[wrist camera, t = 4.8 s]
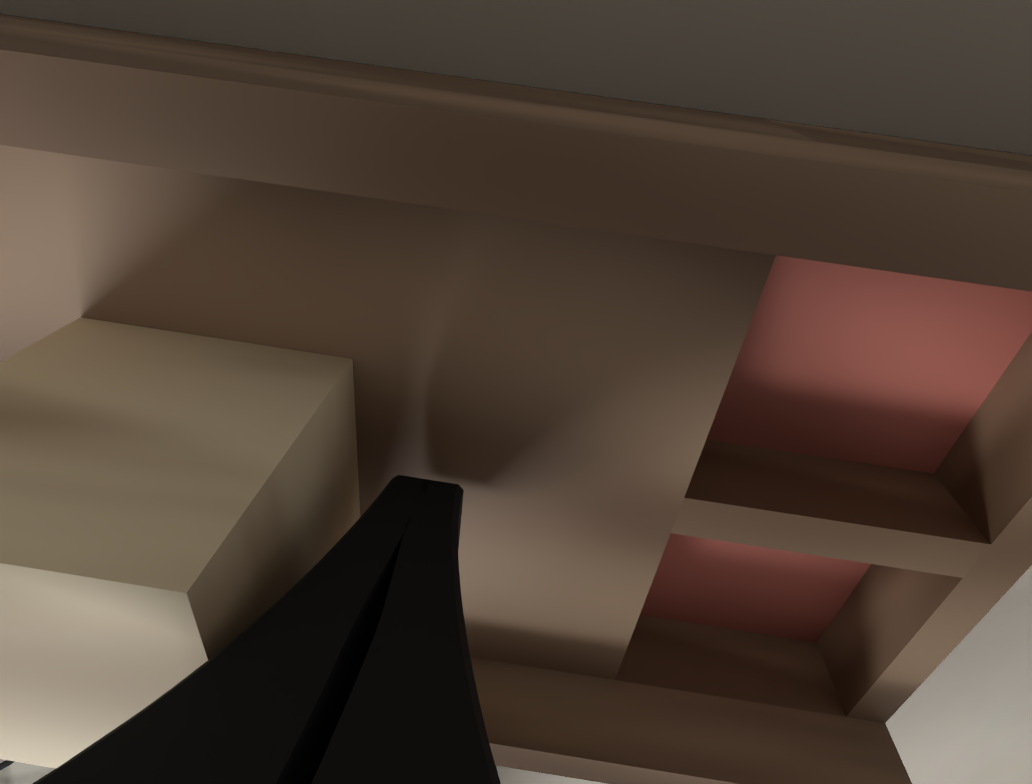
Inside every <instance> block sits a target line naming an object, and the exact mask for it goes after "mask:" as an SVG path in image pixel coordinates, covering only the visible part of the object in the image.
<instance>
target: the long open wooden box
mask: <svg viewBox="0 0 1032 784" xmlns="http://www.w3.org/2000/svg"><path fill="white" fill-rule="evenodd" d="M80 317H81V318H88V319H94V320H101V321H108V322H114V323H121V324H127V325H134V326H140V327H147V328H153V329H160V330H166V331H173V332H180V333H186V334H193V335H199V336H206V337H212V338H219V339H225V340H232V341H239V342H245V343H252V344H258V345H265V346H271V347H278V348H284V349H291V350H297V351H304V352H311V353H317V354H324V355H330V356H337V357H343V358H350V359H353V378H354V398H355V419H356V439H357V460H358V480H359V500H360V517H361V516H362V515H363V514H364V512H365V511H366V510H367V509H368V508H369V507H370V505H371V504H372V503H373V502H374V501H375V499H376V498H377V497H378V496H379V494H380V493H381V492H382V491H383V490H384V488H385V487H386V486H387V484H388V483H389V482H390V481H391V479H392V478H394V477H395V476H397V475H403V476H409V477H416V478H422V479H428V480H435V481H441V482H448V483H454V484H459V485H460V487H461V488H462V489H463V490H464V493H463V504H462V515H461V526H460V537H459V548H458V561H459V574H460V586H461V597H462V605H463V613H464V620H465V627H466V634H467V640H468V646H469V652H470V658H471V663H472V668H473V673H474V678H475V683H476V688H477V693H478V697H479V702H480V706H481V711H482V715H483V719H484V723H485V728H486V732H487V736H488V740H489V744H490V748H491V751H492V755H493V759H494V762H495V765H498V766H504V767H510V768H516V769H523V770H529V771H535V772H541V773H547V774H553V775H559V776H565V777H571V778H578V779H584V780H590V781H596V782H602V783H608V784H912V783H911V781H910V778H909V776H908V774H907V772H906V769H905V767H904V765H903V763H902V760H901V758H900V756H899V754H898V751H897V749H896V747H895V745H894V742H893V740H892V738H891V736H890V733H889V731H888V729H887V727H886V724H885V722H886V721H887V720H888V719H889V718H890V717H891V716H892V715H893V714H894V713H895V712H896V711H897V710H898V708H899V707H900V706H901V705H902V704H903V703H904V702H905V701H906V700H907V699H908V698H909V697H910V696H911V694H912V693H913V692H914V691H915V690H916V689H917V688H918V687H919V686H920V685H921V684H922V683H923V682H924V680H925V679H926V678H927V677H928V676H929V675H930V674H931V673H932V672H933V671H934V670H935V669H936V667H937V666H938V665H939V664H940V663H941V662H942V661H943V660H944V659H945V658H946V657H947V656H948V655H949V653H950V652H951V651H952V650H953V649H954V648H955V647H956V646H957V645H958V644H959V643H960V642H961V641H962V639H963V638H964V637H965V636H966V635H967V634H968V633H969V632H970V631H971V630H972V629H973V628H974V626H975V625H976V624H977V623H978V622H979V621H980V620H981V619H982V618H983V617H984V616H985V615H986V614H987V612H988V611H989V610H990V609H991V608H992V607H993V606H994V605H995V604H996V603H997V602H998V601H999V600H1000V598H1001V597H1002V596H1003V595H1004V594H1005V593H1006V592H1007V591H1008V590H1009V589H1010V588H1011V587H1012V586H1013V584H1014V583H1015V582H1016V581H1017V580H1018V579H1019V578H1020V577H1021V576H1022V575H1023V574H1024V573H1025V571H1026V570H1027V569H1028V568H1029V567H1030V566H1031V565H1032V156H1030V155H1023V154H1016V153H1008V152H1001V151H994V150H987V149H979V148H972V147H965V146H957V145H950V144H943V143H936V142H928V141H921V140H914V139H906V138H899V137H892V136H885V135H877V134H870V133H863V132H855V131H848V130H841V129H834V128H826V127H819V126H812V125H804V124H797V123H790V122H783V121H775V120H768V119H761V118H753V117H746V116H739V115H732V114H724V113H717V112H710V111H702V110H695V109H688V108H681V107H673V106H666V105H659V104H651V103H644V102H637V101H630V100H622V99H615V98H608V97H600V96H593V95H586V94H579V93H571V92H564V91H557V90H549V89H542V88H535V87H528V86H520V85H513V84H506V83H498V82H491V81H484V80H477V79H469V78H462V77H455V76H447V75H440V74H433V73H426V72H418V71H411V70H404V69H396V68H389V67H382V66H375V65H367V64H360V63H353V62H345V61H338V60H331V59H324V58H316V57H309V56H302V55H294V54H287V53H280V52H273V51H265V50H258V49H251V48H243V47H236V46H229V45H222V44H214V43H207V42H200V41H192V40H185V39H178V38H171V37H163V36H156V35H149V34H141V33H134V32H127V31H120V30H112V29H105V28H98V27H90V26H83V25H76V24H69V23H61V22H54V21H47V20H39V19H32V18H25V17H18V16H10V15H3V14H0V362H1V361H3V360H5V359H7V358H9V357H10V356H12V355H14V354H16V353H18V352H19V351H21V350H23V349H25V348H26V347H28V346H30V345H32V344H34V343H35V342H37V341H39V340H41V339H43V338H44V337H46V336H48V335H50V334H52V333H53V332H55V331H57V330H59V329H60V328H62V327H64V326H66V325H68V324H69V323H71V322H73V321H75V320H77V319H78V318H80Z"/></svg>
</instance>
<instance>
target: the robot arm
mask: <svg viewBox="0 0 1032 784" xmlns="http://www.w3.org/2000/svg"><path fill="white" fill-rule="evenodd" d="M463 493H464V490H463V489H462V488H461V487H460V485H459V484H454V483H448V482H441V481H435V480H428V479H422V478H416V477H409V476H403V475H397V476H395V477H394V478H392V479H391V481H390V482H389V483H388V484H387V486H386V487H385V488H384V490H383V491H382V492H381V493H380V494H379V496H378V497H377V498H376V499H375V501H374V502H373V503H372V504H371V505H370V507H369V508H368V509H367V510H366V511H365V512H364V514H363V515H362V516H361V517H360V518H359V519H358V520H357V521H356V523H355V524H354V525H353V526H352V527H351V528H350V529H349V530H348V531H347V533H346V534H345V535H344V536H343V537H342V538H341V539H340V540H339V541H338V542H337V543H336V544H335V545H334V546H333V547H332V548H331V549H330V550H329V552H328V553H327V554H326V555H325V556H324V557H323V558H322V559H321V560H320V561H319V562H318V563H317V564H316V565H315V566H314V567H313V568H312V569H311V570H310V571H309V572H308V573H307V574H306V575H305V576H304V577H303V578H301V579H300V580H299V581H298V582H297V583H296V584H295V585H294V586H293V587H292V588H291V589H290V590H289V591H288V592H287V593H286V594H285V595H284V596H283V597H282V598H281V599H279V600H278V601H277V602H276V603H275V604H274V605H273V606H272V607H271V608H270V609H268V610H267V611H266V612H265V613H264V614H263V615H262V616H261V617H259V618H258V619H257V620H256V621H255V622H254V623H253V624H251V625H250V626H249V627H248V628H247V629H246V630H244V631H243V632H242V633H241V634H240V635H238V636H237V637H236V638H235V639H234V640H232V641H231V642H230V643H229V644H228V645H226V646H225V647H224V648H223V649H222V650H220V651H219V652H218V653H217V654H215V655H214V656H213V657H212V658H210V659H209V660H208V661H206V662H205V663H204V664H203V665H201V666H200V667H199V668H197V669H196V670H195V671H193V672H192V673H191V674H190V675H188V676H187V677H186V678H184V679H183V680H182V681H180V682H179V683H178V684H177V685H175V686H174V687H173V688H171V689H170V690H169V691H167V692H166V693H165V694H163V695H162V696H161V697H159V698H158V699H156V700H155V701H154V702H152V703H151V704H150V705H148V706H147V707H145V708H144V709H143V710H141V711H140V712H139V713H137V714H136V715H134V716H133V717H131V718H130V719H128V720H127V721H125V722H124V723H123V724H121V725H120V726H118V727H117V728H115V729H114V730H112V731H111V732H109V733H108V734H106V735H105V736H103V737H102V738H100V739H99V740H97V741H96V742H95V743H93V744H92V745H90V746H89V747H87V748H86V749H84V750H83V751H81V752H80V753H78V754H77V755H75V756H74V757H72V758H71V759H69V760H68V761H67V762H65V763H64V764H62V765H61V766H59V767H58V768H56V769H55V770H53V771H52V772H50V773H48V774H47V775H45V776H44V777H42V778H41V779H39V780H38V781H36V782H34V783H33V784H500V780H499V777H498V773H497V769H496V766H495V762H494V759H493V755H492V751H491V748H490V744H489V740H488V736H487V732H486V728H485V723H484V719H483V715H482V711H481V706H480V702H479V697H478V693H477V688H476V683H475V678H474V673H473V668H472V663H471V658H470V652H469V646H468V640H467V634H466V627H465V620H464V613H463V605H462V597H461V586H460V574H459V561H458V548H459V537H460V526H461V515H462V504H463Z"/></svg>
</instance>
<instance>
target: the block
mask: <svg viewBox="0 0 1032 784" xmlns="http://www.w3.org/2000/svg"><path fill="white" fill-rule="evenodd" d="M359 518H360V500H359V480H358V460H357V439H356V419H355V398H354V378H353V359H350V358H343V357H337V356H330V355H324V354H317V353H311V352H304V351H297V350H291V349H284V348H278V347H271V346H265V345H258V344H252V343H245V342H239V341H232V340H225V339H219V338H212V337H206V336H199V335H193V334H186V333H180V332H173V331H166V330H160V329H153V328H147V327H140V326H134V325H127V324H121V323H114V322H108V321H101V320H94V319H88V318H81V317H80V318H78V319H77V320H75V321H73V322H71V323H69V324H68V325H66V326H64V327H62V328H60V329H59V330H57V331H55V332H53V333H52V334H50V335H48V336H46V337H44V338H43V339H41V340H39V341H37V342H35V343H34V344H32V345H30V346H28V347H26V348H25V349H23V350H21V351H19V352H18V353H16V354H14V355H12V356H10V357H9V358H7V359H5V360H3V361H1V362H0V759H3V760H9V761H15V762H21V763H27V764H32V765H38V766H44V767H50V768H58V767H59V766H61V765H62V764H64V763H65V762H67V761H68V760H69V759H71V758H72V757H74V756H75V755H77V754H78V753H80V752H81V751H83V750H84V749H86V748H87V747H89V746H90V745H92V744H93V743H95V742H96V741H97V740H99V739H100V738H102V737H103V736H105V735H106V734H108V733H109V732H111V731H112V730H114V729H115V728H117V727H118V726H120V725H121V724H123V723H124V722H125V721H127V720H128V719H130V718H131V717H133V716H134V715H136V714H137V713H139V712H140V711H141V710H143V709H144V708H145V707H147V706H148V705H150V704H151V703H152V702H154V701H155V700H156V699H158V698H159V697H161V696H162V695H163V694H165V693H166V692H167V691H169V690H170V689H171V688H173V687H174V686H175V685H177V684H178V683H179V682H180V681H182V680H183V679H184V678H186V677H187V676H188V675H190V674H191V673H192V672H193V671H195V670H196V669H197V668H199V667H200V666H201V665H203V664H204V663H205V662H206V661H208V660H209V659H210V658H212V657H213V656H214V655H215V654H217V653H218V652H219V651H220V650H222V649H223V648H224V647H225V646H226V645H228V644H229V643H230V642H231V641H232V640H234V639H235V638H236V637H237V636H238V635H240V634H241V633H242V632H243V631H244V630H246V629H247V628H248V627H249V626H250V625H251V624H253V623H254V622H255V621H256V620H257V619H258V618H259V617H261V616H262V615H263V614H264V613H265V612H266V611H267V610H268V609H270V608H271V607H272V606H273V605H274V604H275V603H276V602H277V601H278V600H279V599H281V598H282V597H283V596H284V595H285V594H286V593H287V592H288V591H289V590H290V589H291V588H292V587H293V586H294V585H295V584H296V583H297V582H298V581H299V580H300V579H301V578H303V577H304V576H305V575H306V574H307V573H308V572H309V571H310V570H311V569H312V568H313V567H314V566H315V565H316V564H317V563H318V562H319V561H320V560H321V559H322V558H323V557H324V556H325V555H326V554H327V553H328V552H329V550H330V549H331V548H332V547H333V546H334V545H335V544H336V543H337V542H338V541H339V540H340V539H341V538H342V537H343V536H344V535H345V534H346V533H347V531H348V530H349V529H350V528H351V527H352V526H353V525H354V524H355V523H356V521H357V520H358V519H359Z"/></svg>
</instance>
